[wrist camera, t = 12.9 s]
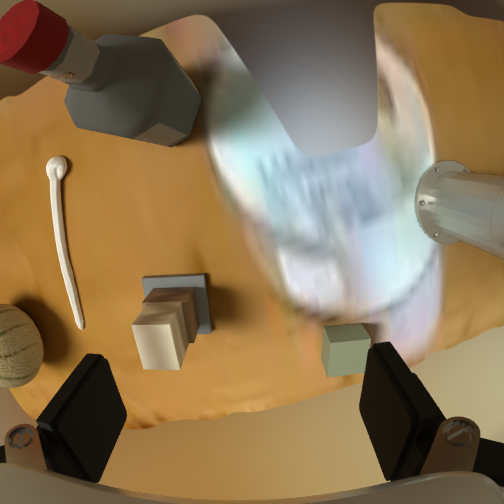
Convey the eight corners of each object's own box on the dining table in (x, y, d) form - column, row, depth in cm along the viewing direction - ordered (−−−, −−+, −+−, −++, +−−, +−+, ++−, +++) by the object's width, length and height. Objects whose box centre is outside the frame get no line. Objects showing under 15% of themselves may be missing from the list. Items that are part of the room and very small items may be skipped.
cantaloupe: (68, 362, 48) (28, 411, 33) (19, 359, 49) (-20, 399, 34) (39, 288, 44) (-15, 326, 30) (-7, 294, 45) (-56, 326, 30)
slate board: (204, 273, 43) (203, 275, 42) (212, 330, 45) (211, 333, 44) (143, 276, 43) (141, 278, 42) (154, 331, 46) (152, 334, 45)
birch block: (181, 301, 38) (169, 324, 32) (189, 343, 39) (179, 369, 33) (147, 302, 38) (131, 324, 32) (156, 343, 39) (143, 369, 34)
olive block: (360, 322, 45) (371, 338, 40) (356, 354, 47) (365, 372, 42) (323, 325, 45) (330, 343, 41) (321, 358, 47) (327, 377, 42)
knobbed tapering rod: (98, 328, 46) (91, 336, 43) (78, 327, 46) (71, 335, 44) (70, 153, 39) (60, 153, 36) (50, 158, 39) (39, 159, 36)
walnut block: (194, 286, 43) (187, 301, 38) (199, 325, 44) (194, 343, 39) (153, 288, 43) (142, 302, 38) (160, 325, 44) (151, 342, 39)
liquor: (186, 151, 39) (42, 125, 10) (125, 136, 38) (-56, 113, 9) (207, 86, 36) (121, -53, 8) (145, 74, 36) (1, -27, 7)
